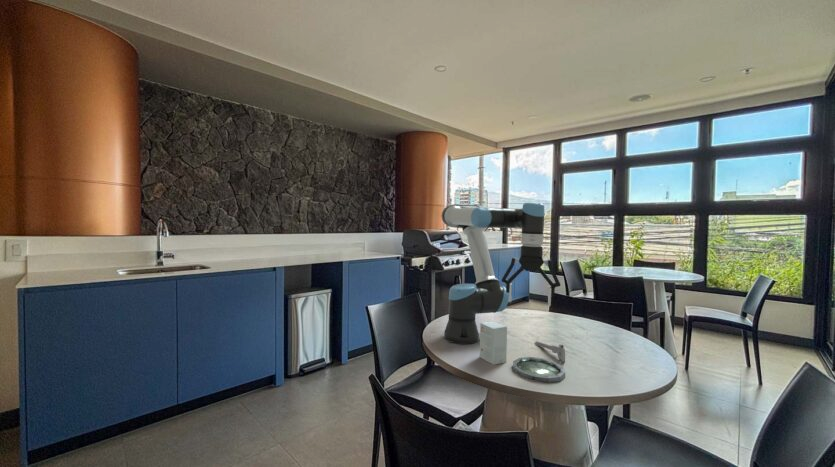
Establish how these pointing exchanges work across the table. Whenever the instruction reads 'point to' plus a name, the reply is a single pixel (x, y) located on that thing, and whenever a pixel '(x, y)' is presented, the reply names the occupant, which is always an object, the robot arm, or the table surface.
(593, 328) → the table surface
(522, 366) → the steel bowl
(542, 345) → the caliper
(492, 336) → the small box
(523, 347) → the table surface
